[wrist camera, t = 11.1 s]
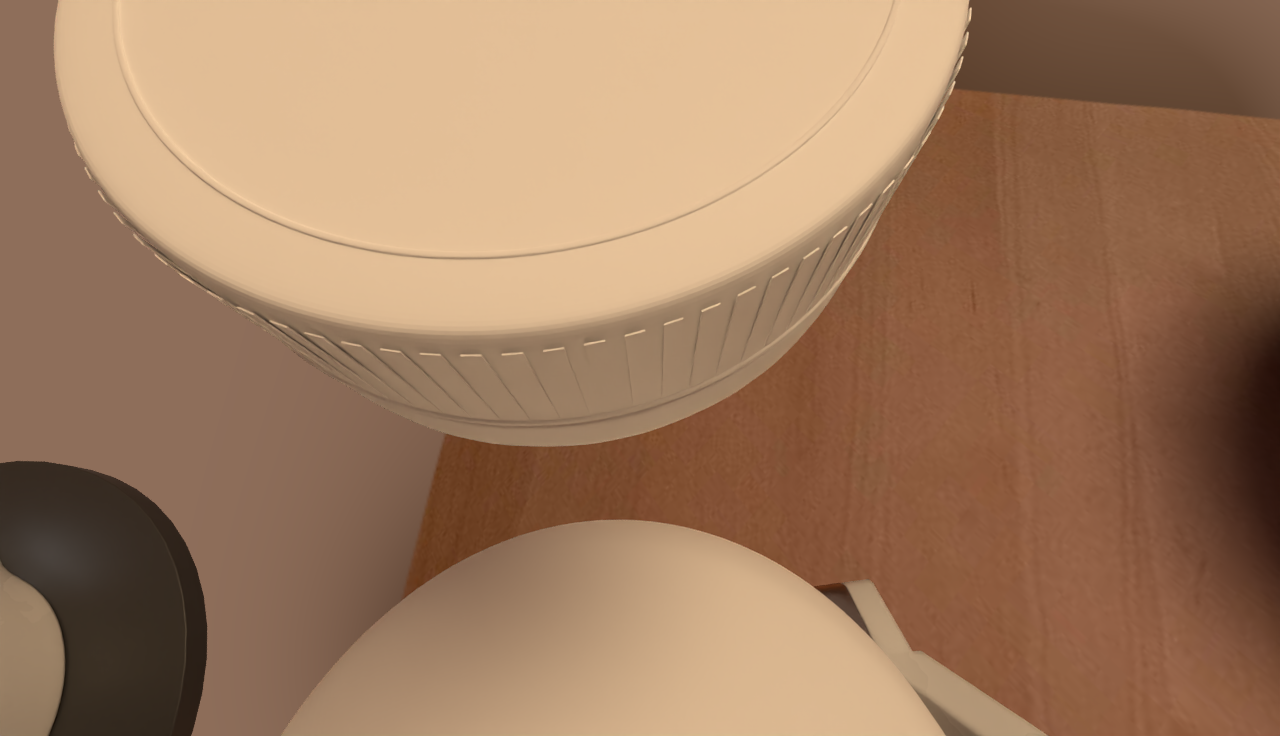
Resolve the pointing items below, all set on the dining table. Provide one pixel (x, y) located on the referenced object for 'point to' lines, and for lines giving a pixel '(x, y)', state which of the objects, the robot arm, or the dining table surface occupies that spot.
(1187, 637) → the dining table surface
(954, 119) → the dining table surface
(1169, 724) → the dining table surface
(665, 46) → the water bottle
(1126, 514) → the dining table surface
